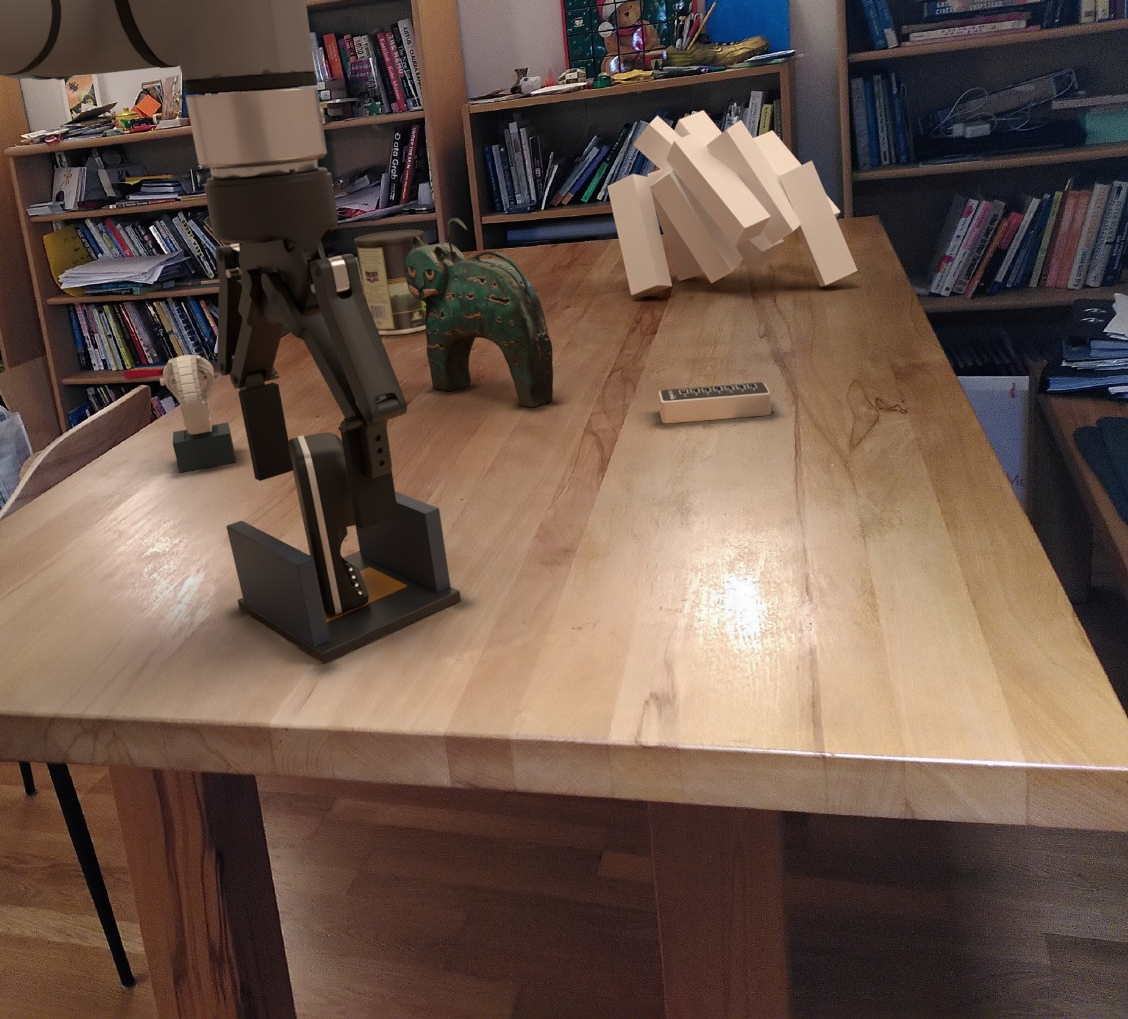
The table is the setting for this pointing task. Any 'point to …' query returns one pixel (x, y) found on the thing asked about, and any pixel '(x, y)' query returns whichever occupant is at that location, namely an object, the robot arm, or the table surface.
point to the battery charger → (327, 517)
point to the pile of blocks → (721, 206)
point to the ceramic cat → (480, 317)
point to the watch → (197, 415)
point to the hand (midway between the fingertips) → (322, 496)
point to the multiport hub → (714, 402)
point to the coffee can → (390, 281)
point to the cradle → (387, 565)
